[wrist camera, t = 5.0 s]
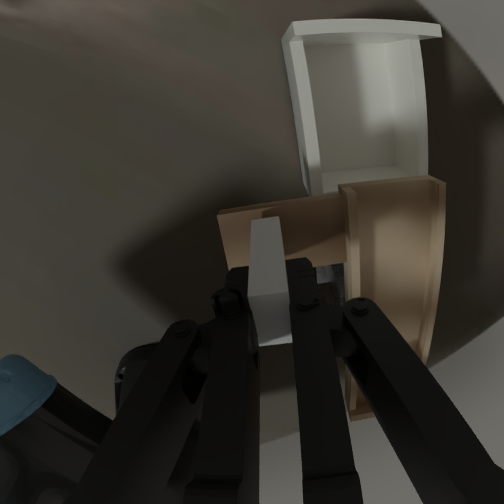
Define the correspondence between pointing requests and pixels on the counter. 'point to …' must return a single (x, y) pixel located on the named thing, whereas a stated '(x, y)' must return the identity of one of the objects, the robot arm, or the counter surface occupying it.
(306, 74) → the grey open bin
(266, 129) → the counter surface
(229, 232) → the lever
